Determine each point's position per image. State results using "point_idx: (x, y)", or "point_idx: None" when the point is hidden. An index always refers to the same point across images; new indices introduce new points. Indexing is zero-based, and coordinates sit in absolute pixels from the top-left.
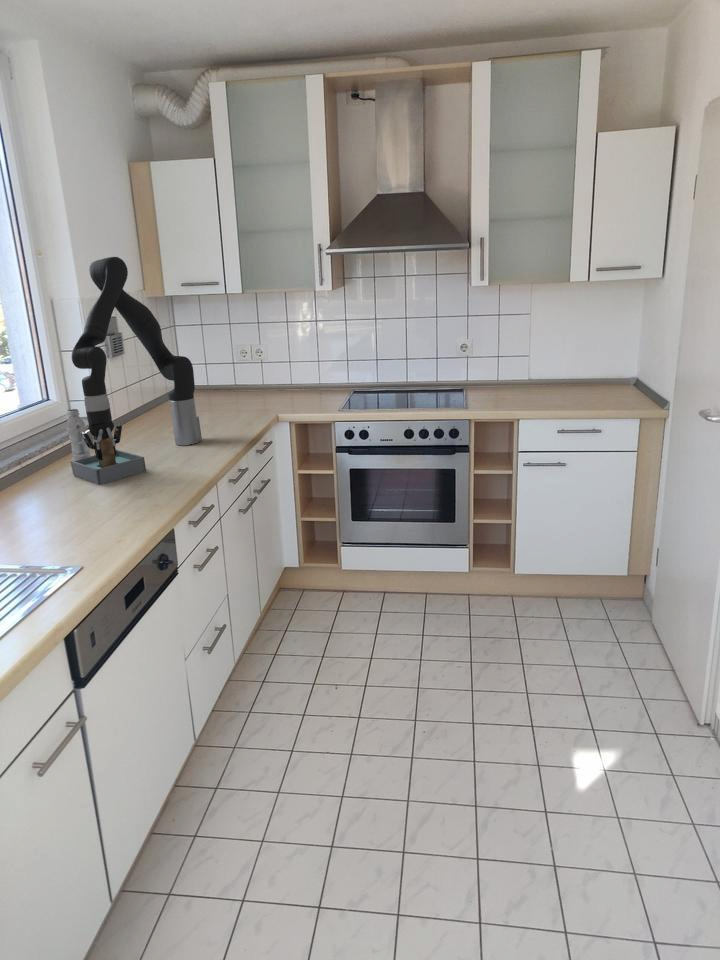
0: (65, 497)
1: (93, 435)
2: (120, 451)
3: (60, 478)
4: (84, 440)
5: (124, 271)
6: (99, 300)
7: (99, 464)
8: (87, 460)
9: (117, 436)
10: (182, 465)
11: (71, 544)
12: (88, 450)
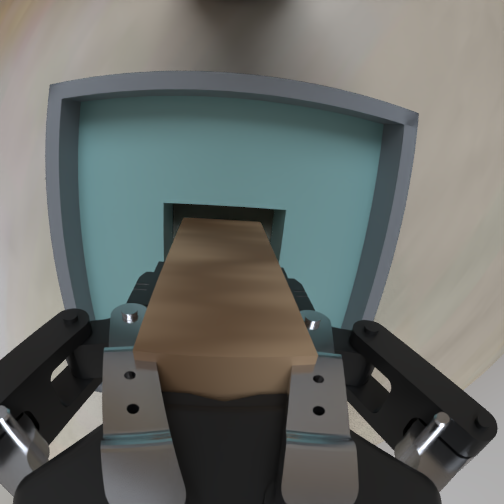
0: (9, 343)
1: (92, 441)
2: (397, 184)
3: (43, 87)
4: (1, 367)
5: None
6: None
7: (180, 226)
8: (163, 92)
9: (363, 416)
10: None
11: None
12: None
